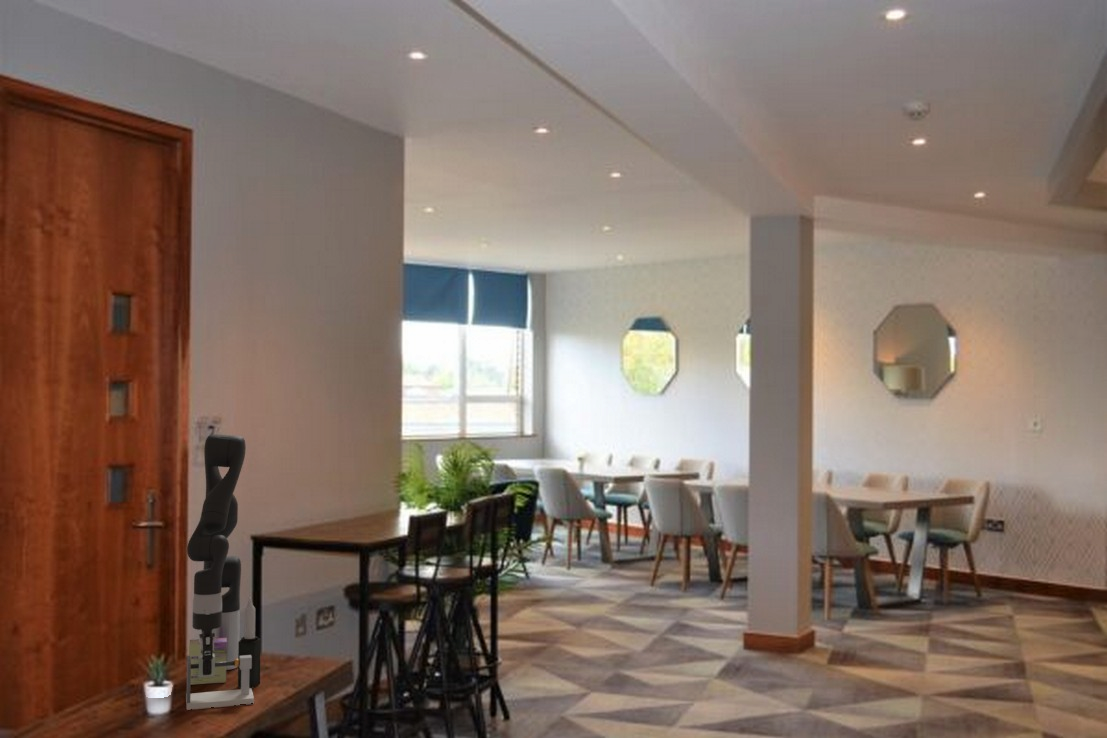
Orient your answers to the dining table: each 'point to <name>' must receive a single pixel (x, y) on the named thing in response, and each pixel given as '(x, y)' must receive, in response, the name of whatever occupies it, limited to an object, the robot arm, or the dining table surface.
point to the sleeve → (202, 666)
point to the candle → (250, 646)
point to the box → (220, 656)
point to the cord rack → (222, 697)
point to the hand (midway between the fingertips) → (206, 670)
